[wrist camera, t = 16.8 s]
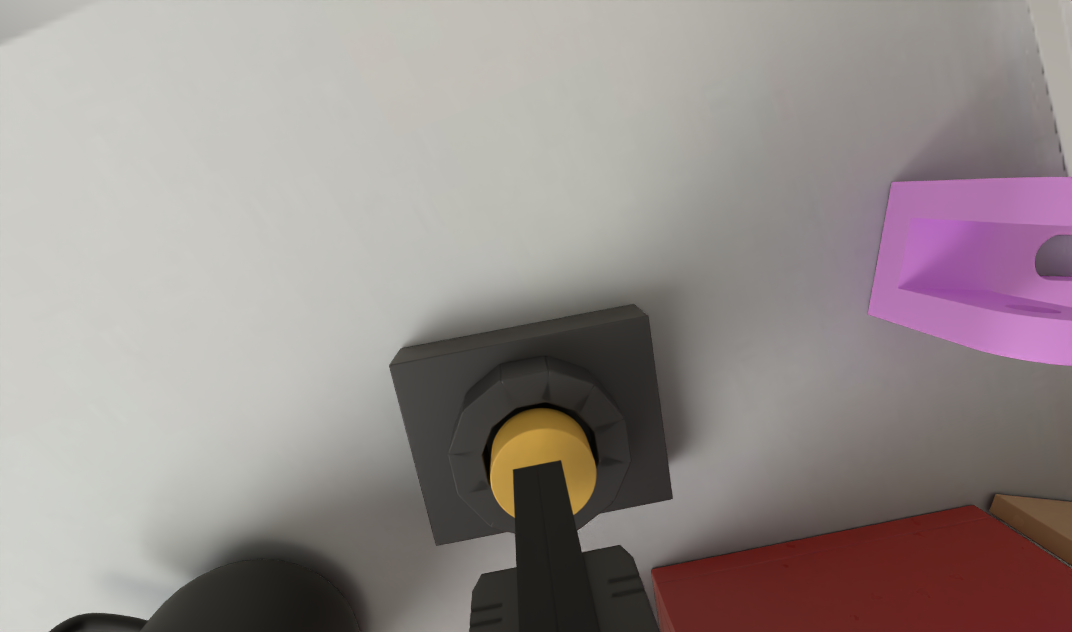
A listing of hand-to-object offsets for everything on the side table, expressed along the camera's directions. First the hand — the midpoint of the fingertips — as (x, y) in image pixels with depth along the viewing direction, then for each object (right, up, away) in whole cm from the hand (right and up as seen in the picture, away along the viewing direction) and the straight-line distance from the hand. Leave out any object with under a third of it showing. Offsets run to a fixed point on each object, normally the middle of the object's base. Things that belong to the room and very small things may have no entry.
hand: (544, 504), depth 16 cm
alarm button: (0, +1, +3) cm, 3 cm away
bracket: (+21, +9, +7) cm, 23 cm away
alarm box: (0, +2, +7) cm, 7 cm away
